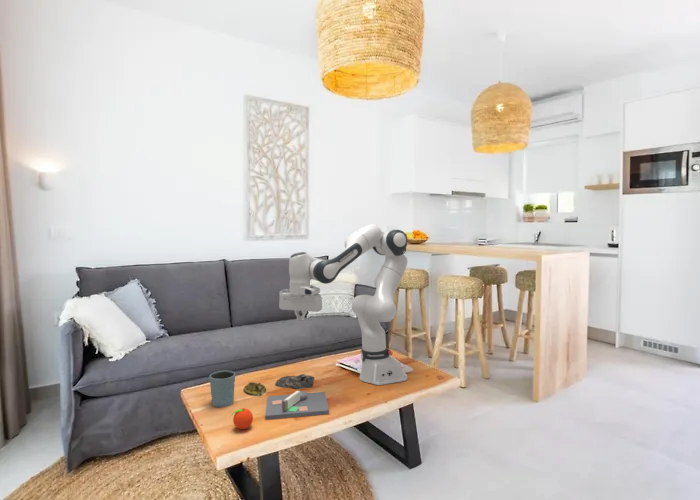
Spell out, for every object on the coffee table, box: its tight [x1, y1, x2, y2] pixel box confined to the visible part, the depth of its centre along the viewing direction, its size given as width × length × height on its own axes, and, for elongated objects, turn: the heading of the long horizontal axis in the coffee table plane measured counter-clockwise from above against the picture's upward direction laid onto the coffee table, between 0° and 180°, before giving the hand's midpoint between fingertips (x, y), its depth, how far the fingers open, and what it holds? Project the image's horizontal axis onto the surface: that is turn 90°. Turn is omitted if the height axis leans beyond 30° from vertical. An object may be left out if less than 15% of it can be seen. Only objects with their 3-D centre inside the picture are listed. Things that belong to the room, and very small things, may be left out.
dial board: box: [264, 391, 330, 421], centre depth 164 cm, size 24×18×2 cm
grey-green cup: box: [209, 369, 236, 408], centre depth 169 cm, size 10×10×12 cm
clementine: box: [229, 407, 254, 430], centre depth 147 cm, size 8×7×7 cm
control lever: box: [282, 390, 308, 411], centre depth 163 cm, size 15×4×4 cm, turn 156°
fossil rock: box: [274, 373, 315, 391], centre depth 188 cm, size 19×4×15 cm
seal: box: [243, 381, 267, 397], centre depth 182 cm, size 9×5×15 cm
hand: (300, 320), depth 180 cm, fingers closed
